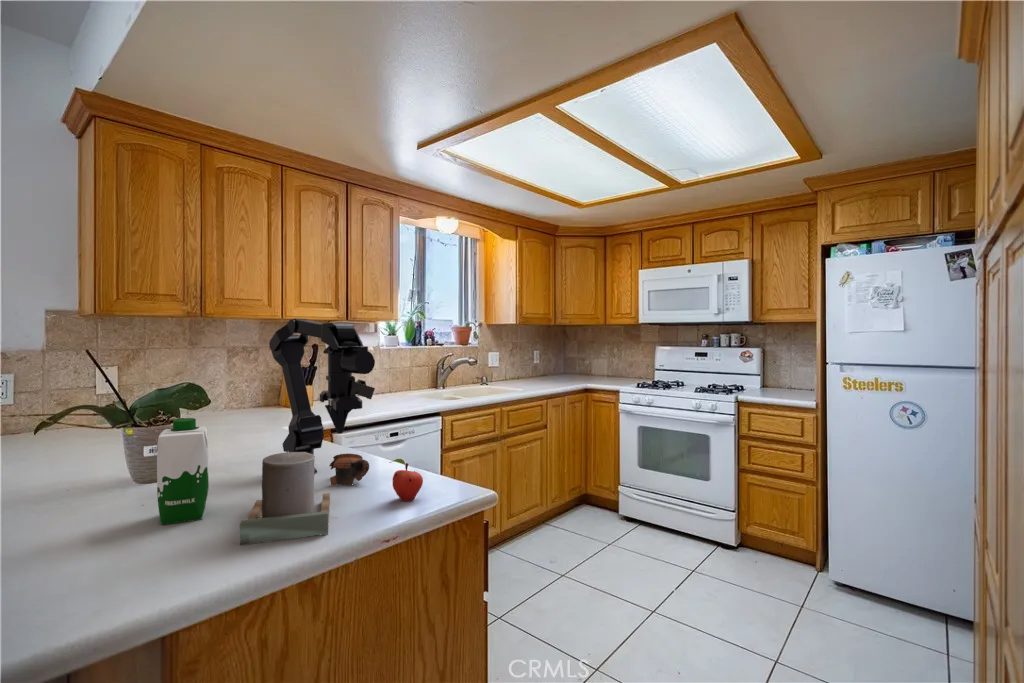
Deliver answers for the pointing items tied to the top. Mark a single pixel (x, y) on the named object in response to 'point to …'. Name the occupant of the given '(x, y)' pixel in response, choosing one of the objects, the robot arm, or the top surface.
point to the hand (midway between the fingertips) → (340, 433)
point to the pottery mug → (348, 469)
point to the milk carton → (182, 472)
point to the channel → (284, 524)
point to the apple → (406, 482)
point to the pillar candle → (287, 484)
